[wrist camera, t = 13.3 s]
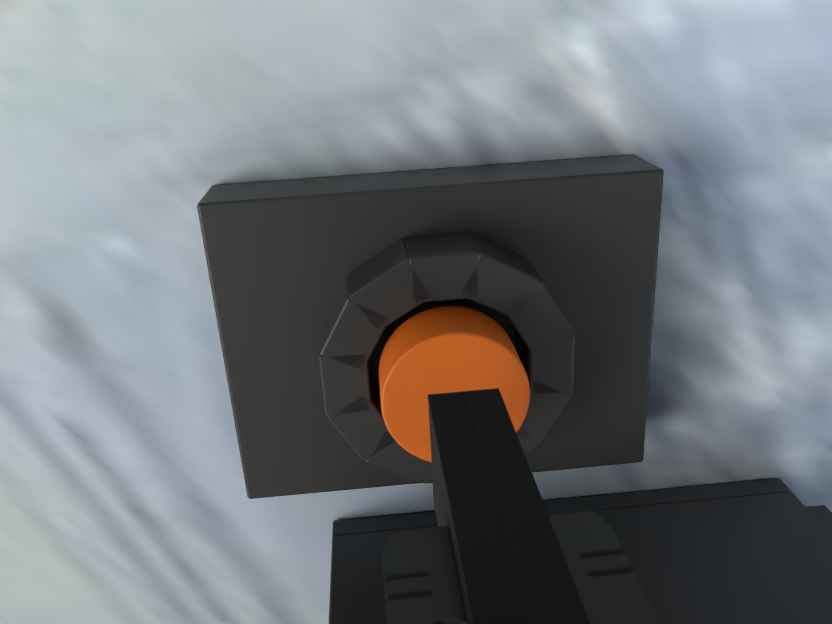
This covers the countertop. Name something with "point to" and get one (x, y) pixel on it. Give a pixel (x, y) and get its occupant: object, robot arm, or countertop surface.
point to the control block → (425, 289)
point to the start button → (446, 370)
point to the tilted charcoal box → (654, 554)
